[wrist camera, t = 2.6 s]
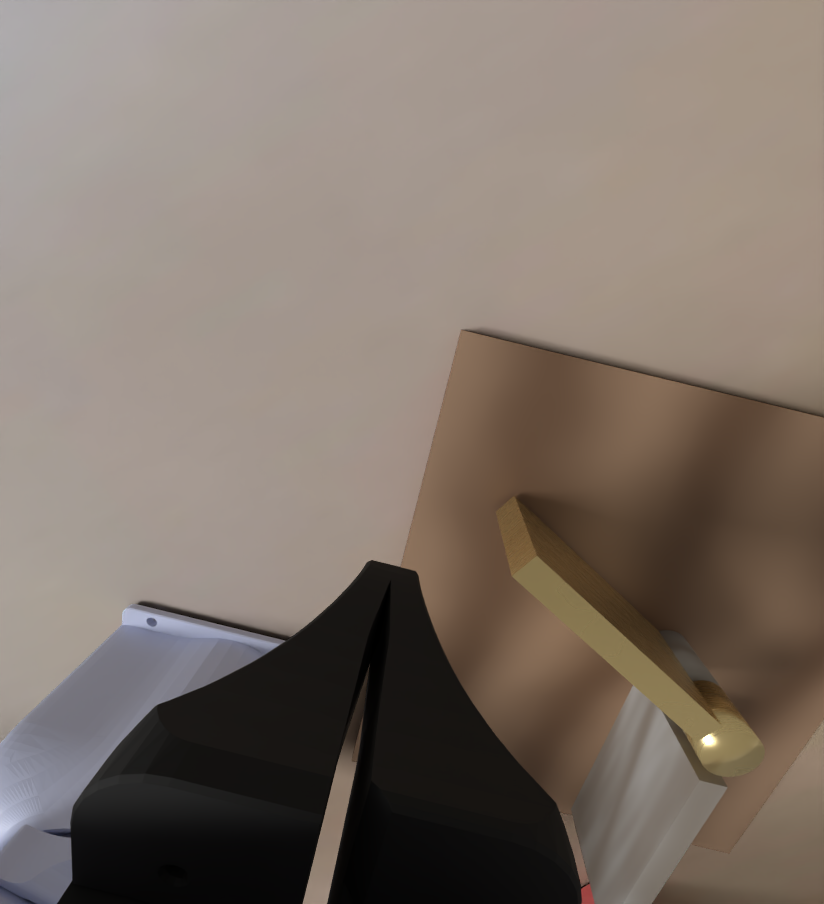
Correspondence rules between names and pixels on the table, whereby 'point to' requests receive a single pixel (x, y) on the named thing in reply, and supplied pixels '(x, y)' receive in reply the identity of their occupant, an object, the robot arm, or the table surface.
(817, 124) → the table surface
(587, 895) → the ink cartridge box
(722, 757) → the hinge leaf
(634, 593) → the hinge base
